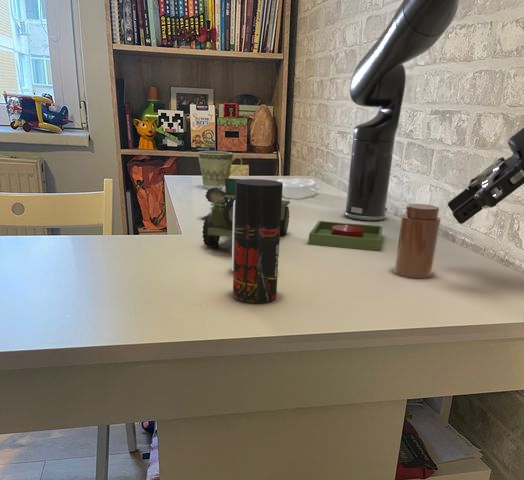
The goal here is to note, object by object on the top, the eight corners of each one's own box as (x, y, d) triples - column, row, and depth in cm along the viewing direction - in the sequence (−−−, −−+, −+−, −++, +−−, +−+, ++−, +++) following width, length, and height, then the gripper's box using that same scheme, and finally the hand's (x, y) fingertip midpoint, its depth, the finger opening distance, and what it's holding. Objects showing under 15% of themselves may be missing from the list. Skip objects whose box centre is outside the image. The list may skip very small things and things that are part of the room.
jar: (391, 267, 93) (401, 202, 88) (426, 269, 93) (437, 204, 88) (397, 277, 88) (407, 208, 83) (434, 279, 87) (446, 210, 83)
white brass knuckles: (278, 187, 172) (324, 192, 168) (260, 195, 156) (311, 200, 152) (278, 176, 170) (325, 180, 167) (260, 183, 155) (312, 187, 151)
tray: (317, 230, 117) (318, 220, 116) (381, 236, 115) (382, 226, 114) (308, 244, 105) (309, 233, 104) (379, 250, 103) (380, 240, 102)
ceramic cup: (194, 189, 161) (194, 152, 157) (203, 184, 170) (203, 150, 166) (238, 192, 160) (239, 155, 156) (244, 187, 169) (246, 152, 165)
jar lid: (358, 242, 106) (359, 233, 105) (327, 238, 108) (328, 229, 108) (365, 236, 111) (366, 227, 111) (336, 232, 113) (337, 223, 113)
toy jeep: (289, 230, 115) (292, 175, 111) (264, 260, 93) (267, 193, 89) (232, 225, 118) (234, 171, 113) (195, 253, 95) (194, 187, 91)
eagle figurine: (243, 210, 128) (204, 201, 127) (248, 186, 122) (208, 177, 121) (238, 234, 123) (198, 225, 122) (244, 210, 118) (202, 201, 117)
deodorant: (232, 289, 78) (234, 178, 72) (274, 289, 79) (280, 179, 73) (233, 303, 73) (236, 184, 67) (278, 303, 73) (285, 186, 67)
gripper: (583, 164, 72) (473, 243, 79) (555, 155, 85) (463, 224, 92) (549, 117, 71) (441, 202, 78) (526, 116, 84) (435, 188, 91)
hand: (453, 213), depth 85 cm, fingers open, 8 cm apart
